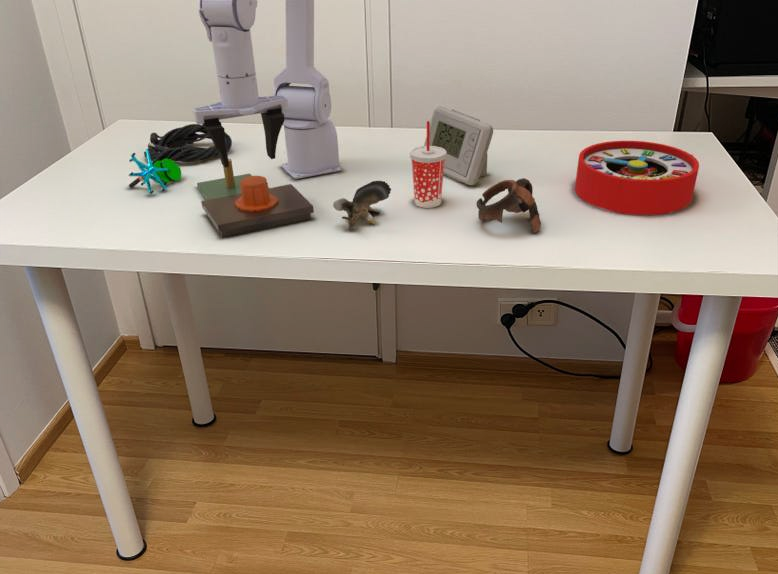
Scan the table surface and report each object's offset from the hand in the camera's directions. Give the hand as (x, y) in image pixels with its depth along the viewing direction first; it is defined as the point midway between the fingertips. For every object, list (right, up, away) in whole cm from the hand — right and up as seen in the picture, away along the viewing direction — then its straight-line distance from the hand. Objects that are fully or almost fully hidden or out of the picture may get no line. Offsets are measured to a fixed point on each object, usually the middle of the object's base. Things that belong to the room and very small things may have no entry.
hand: (248, 161), depth 120 cm
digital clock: (+35, +3, +20) cm, 40 cm away
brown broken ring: (+43, -10, +1) cm, 44 cm away
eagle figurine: (+18, -9, +3) cm, 21 cm away
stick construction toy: (-21, 0, +18) cm, 28 cm away
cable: (-18, +10, +32) cm, 38 cm away
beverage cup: (+29, -5, +9) cm, 31 cm away
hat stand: (-6, -2, +14) cm, 16 cm away
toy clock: (+66, -3, +11) cm, 67 cm away
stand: (+1, -8, +5) cm, 10 cm away
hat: (+1, -6, +4) cm, 7 cm away
